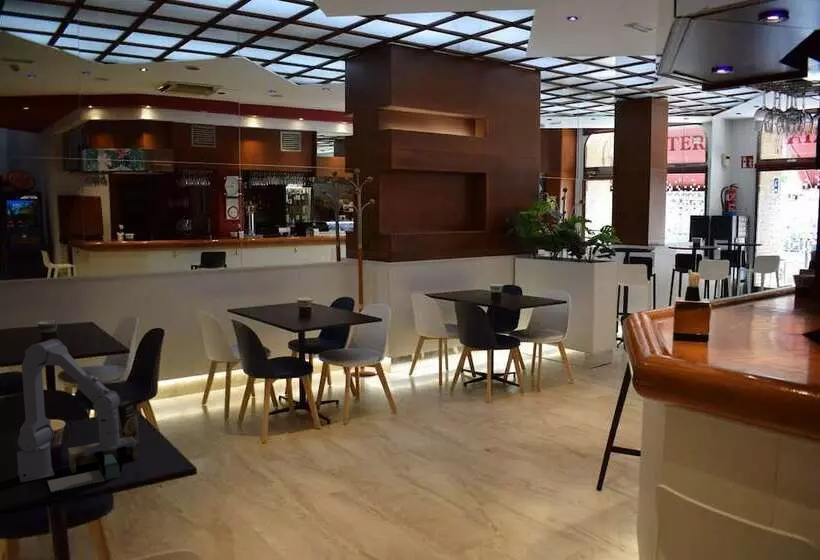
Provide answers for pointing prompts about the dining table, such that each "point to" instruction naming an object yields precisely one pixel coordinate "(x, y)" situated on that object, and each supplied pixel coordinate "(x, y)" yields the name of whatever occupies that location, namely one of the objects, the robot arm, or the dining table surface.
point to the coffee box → (128, 419)
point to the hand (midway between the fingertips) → (111, 472)
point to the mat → (75, 481)
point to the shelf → (79, 456)
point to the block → (111, 467)
